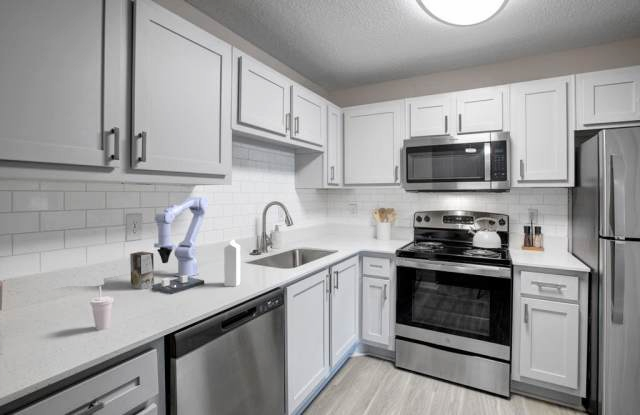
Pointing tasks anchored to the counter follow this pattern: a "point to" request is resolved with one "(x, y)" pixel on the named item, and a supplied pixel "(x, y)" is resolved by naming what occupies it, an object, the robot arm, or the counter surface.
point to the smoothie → (102, 311)
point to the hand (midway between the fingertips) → (165, 262)
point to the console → (178, 285)
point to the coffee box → (142, 270)
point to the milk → (232, 264)
